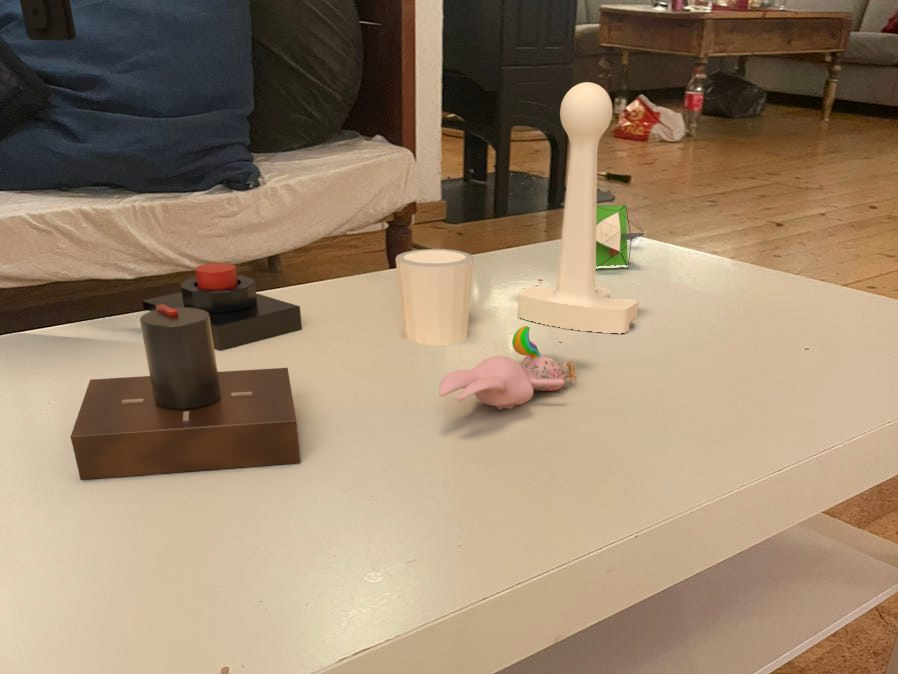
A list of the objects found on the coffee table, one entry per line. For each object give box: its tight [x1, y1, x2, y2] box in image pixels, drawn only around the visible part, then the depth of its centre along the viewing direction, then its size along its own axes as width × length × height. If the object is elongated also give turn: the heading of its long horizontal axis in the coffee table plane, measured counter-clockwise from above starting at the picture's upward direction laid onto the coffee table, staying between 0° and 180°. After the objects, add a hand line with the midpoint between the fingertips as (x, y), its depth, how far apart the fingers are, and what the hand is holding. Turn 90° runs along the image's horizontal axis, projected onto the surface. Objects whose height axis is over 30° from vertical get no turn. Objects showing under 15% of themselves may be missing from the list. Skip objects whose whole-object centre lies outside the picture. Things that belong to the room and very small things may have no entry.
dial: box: [139, 304, 221, 409], centre depth 66 cm, size 4×4×6 cm
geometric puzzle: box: [596, 204, 646, 267], centre depth 111 cm, size 7×7×8 cm
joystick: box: [517, 81, 639, 335], centre depth 90 cm, size 11×8×20 cm
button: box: [194, 262, 238, 289], centre depth 90 cm, size 4×4×2 cm
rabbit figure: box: [438, 325, 578, 411], centre depth 74 cm, size 6×6×15 cm
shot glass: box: [395, 248, 475, 346], centre depth 88 cm, size 7×7×7 cm
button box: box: [141, 274, 303, 352], centre depth 91 cm, size 12×9×4 cm
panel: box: [70, 367, 301, 481], centre depth 68 cm, size 14×11×3 cm
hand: (52, 39), depth 76 cm, fingers closed
